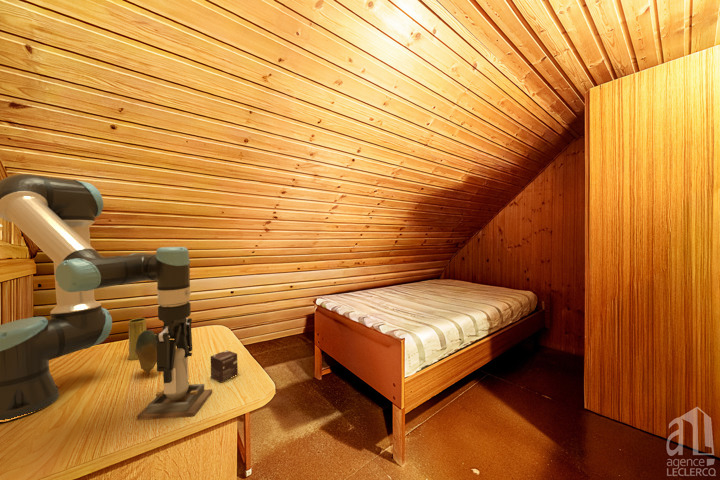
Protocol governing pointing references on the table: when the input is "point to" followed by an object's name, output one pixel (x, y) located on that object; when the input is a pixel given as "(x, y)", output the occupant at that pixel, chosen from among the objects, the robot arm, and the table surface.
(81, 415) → the table surface
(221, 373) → the box
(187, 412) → the base
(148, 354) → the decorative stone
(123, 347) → the table surface
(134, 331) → the vase
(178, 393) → the salt shaker
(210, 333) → the table surface
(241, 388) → the table surface
